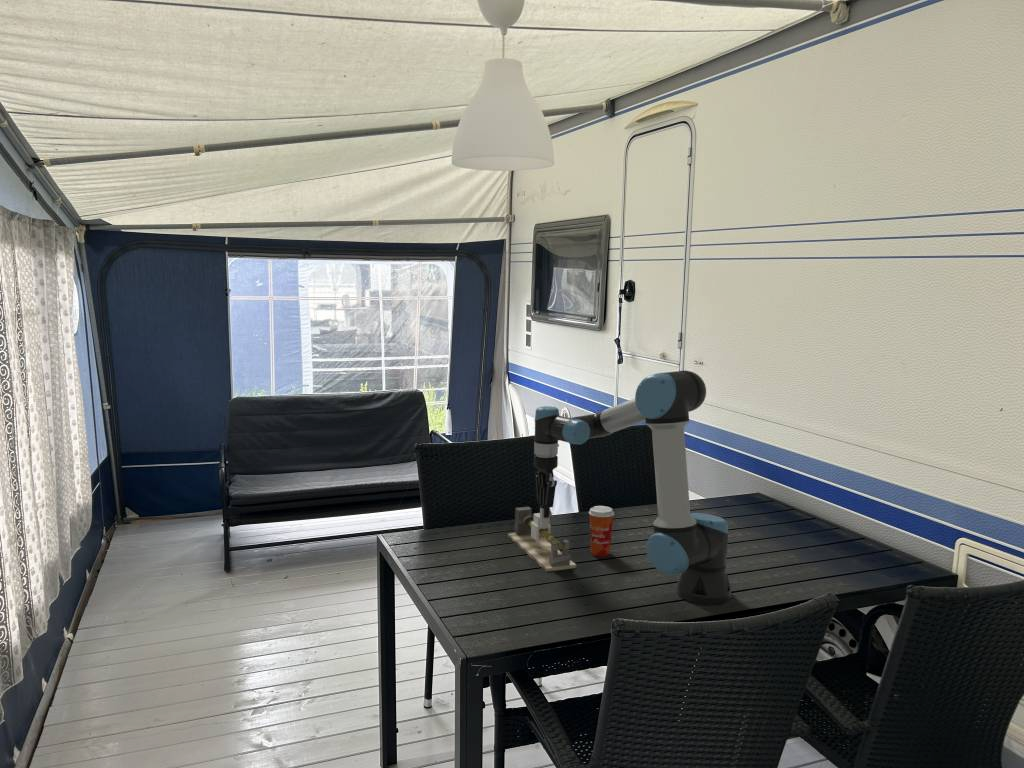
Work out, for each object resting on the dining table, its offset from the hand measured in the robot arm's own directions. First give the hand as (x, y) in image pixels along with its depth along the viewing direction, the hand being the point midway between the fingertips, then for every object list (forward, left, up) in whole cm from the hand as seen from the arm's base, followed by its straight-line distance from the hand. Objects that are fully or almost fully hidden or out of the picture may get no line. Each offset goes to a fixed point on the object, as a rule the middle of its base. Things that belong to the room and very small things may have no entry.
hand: (544, 526), depth 248 cm
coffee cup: (-5, -18, -10) cm, 21 cm away
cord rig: (+3, 0, -10) cm, 10 cm away
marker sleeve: (+3, 0, -5) cm, 6 cm away
